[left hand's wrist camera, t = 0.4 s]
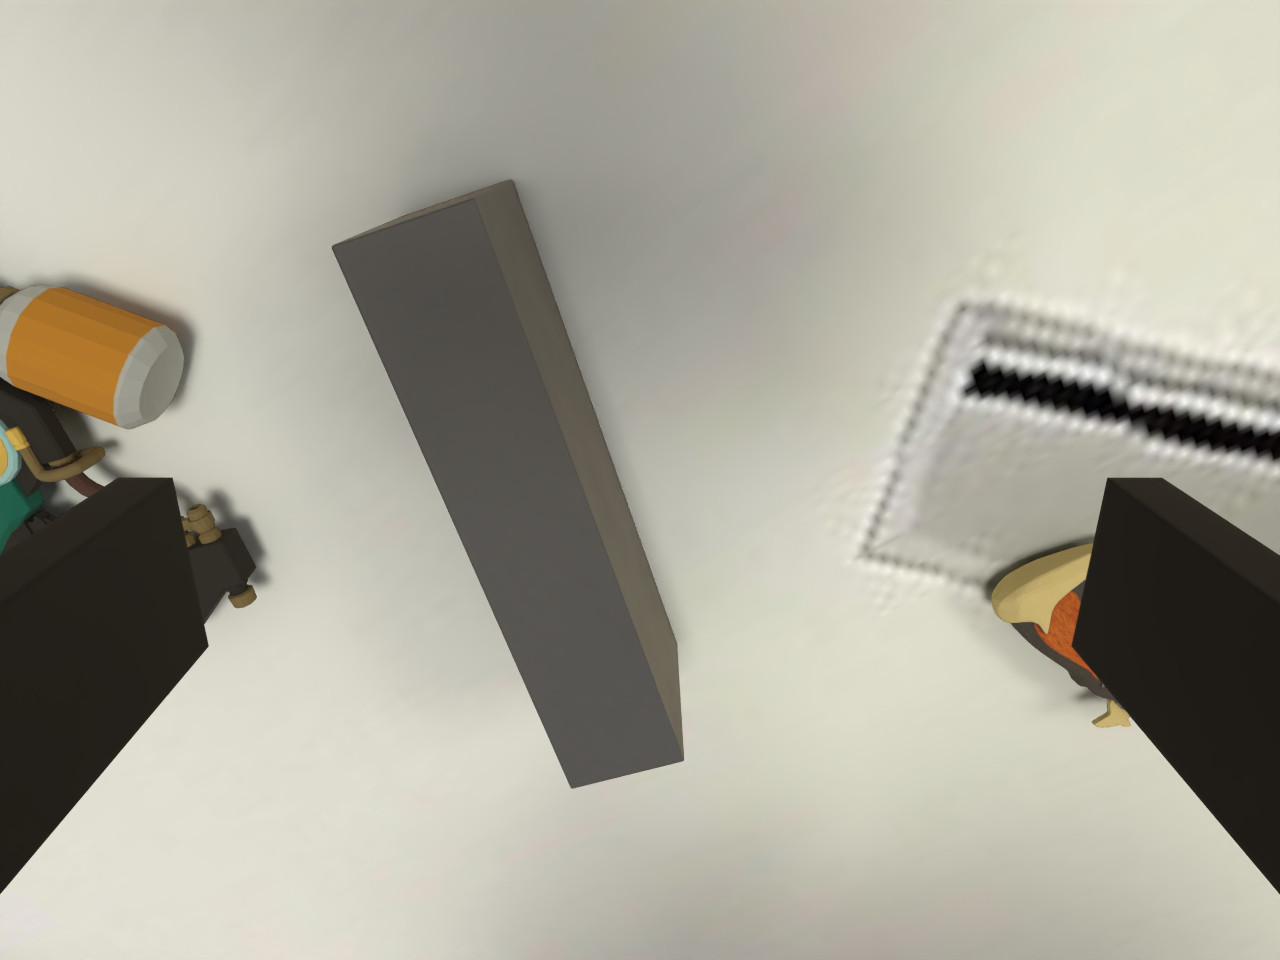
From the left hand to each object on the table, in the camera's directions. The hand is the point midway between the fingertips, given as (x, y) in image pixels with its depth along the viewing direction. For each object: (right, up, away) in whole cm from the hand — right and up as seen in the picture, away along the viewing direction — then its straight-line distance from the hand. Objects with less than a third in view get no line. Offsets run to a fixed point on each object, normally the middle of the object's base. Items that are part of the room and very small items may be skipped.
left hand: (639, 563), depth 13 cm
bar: (-4, +2, +24) cm, 25 cm away
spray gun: (-24, +2, +24) cm, 34 cm away
